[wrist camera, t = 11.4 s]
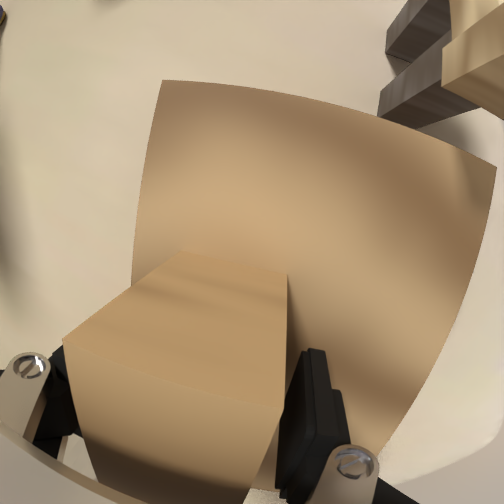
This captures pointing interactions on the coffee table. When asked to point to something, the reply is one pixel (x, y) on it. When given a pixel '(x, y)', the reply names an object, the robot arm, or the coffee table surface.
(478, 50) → the pale wooden bar
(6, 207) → the coffee table surface
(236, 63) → the coffee table surface
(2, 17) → the rubber mallet
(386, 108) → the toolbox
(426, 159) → the lid
